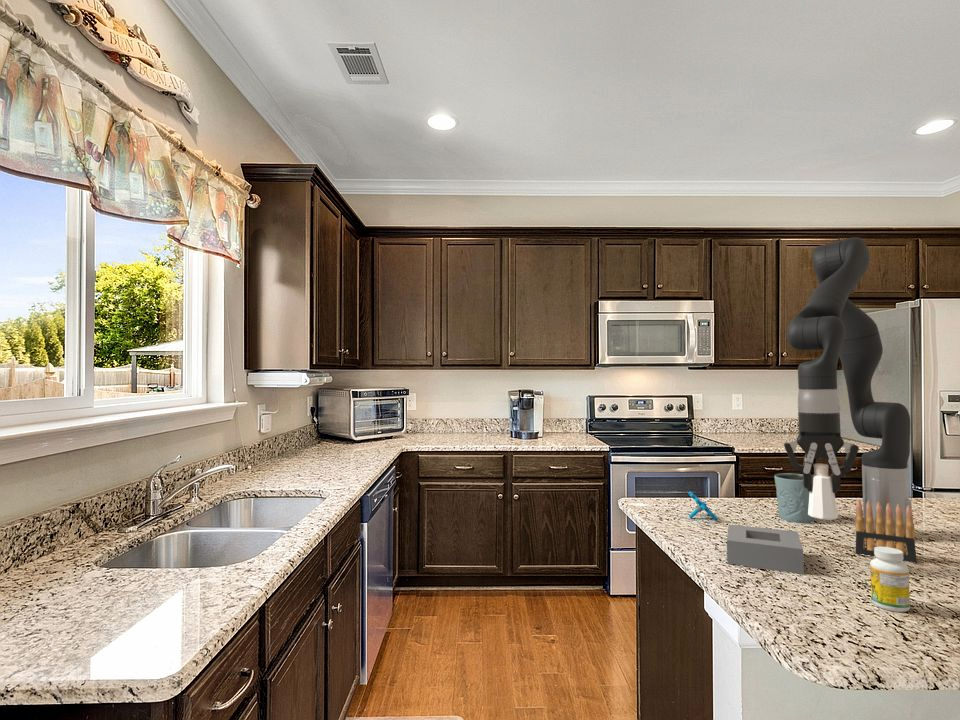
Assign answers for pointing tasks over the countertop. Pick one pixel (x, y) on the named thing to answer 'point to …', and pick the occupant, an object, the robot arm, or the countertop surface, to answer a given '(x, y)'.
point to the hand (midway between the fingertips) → (821, 491)
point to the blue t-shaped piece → (700, 507)
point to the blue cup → (792, 498)
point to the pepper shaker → (822, 494)
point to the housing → (765, 548)
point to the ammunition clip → (888, 538)
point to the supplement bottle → (889, 580)
